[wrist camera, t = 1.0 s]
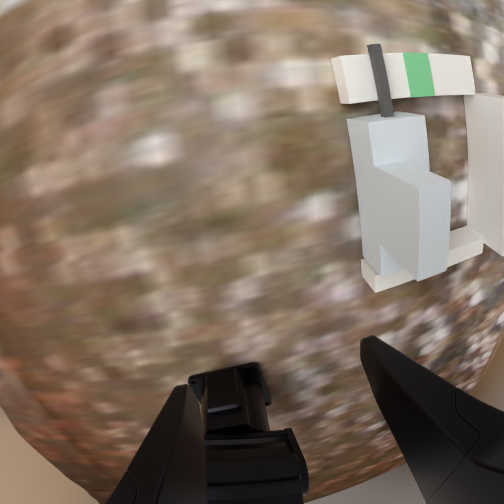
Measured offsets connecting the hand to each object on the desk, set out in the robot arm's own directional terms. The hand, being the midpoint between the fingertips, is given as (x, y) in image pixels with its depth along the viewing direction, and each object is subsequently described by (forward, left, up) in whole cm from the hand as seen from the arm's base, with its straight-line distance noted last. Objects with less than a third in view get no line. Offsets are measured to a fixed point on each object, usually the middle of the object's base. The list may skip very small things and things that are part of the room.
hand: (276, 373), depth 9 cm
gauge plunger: (+2, -10, -13) cm, 16 cm away
